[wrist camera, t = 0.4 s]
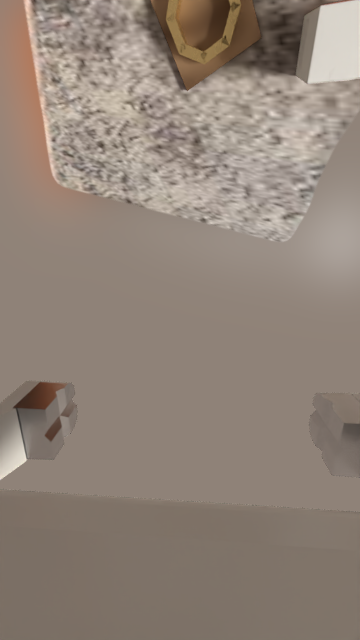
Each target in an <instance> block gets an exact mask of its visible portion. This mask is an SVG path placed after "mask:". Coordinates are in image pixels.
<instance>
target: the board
mask: <svg viewBox="0 0 360 640" xmlns="http://www.w3.org/2000/svg"><path fill="white" fill-rule="evenodd" d="M150 1H151V3H152V6H153V8H154V11H155V13H156V15H157V18H158V20H159V23H160V25H161V28H162V30H163V33H164V35H165V38H166V40H167V43H168V45H169V48H170V50H171V52H172V55H173V57H174V60H175V62H176V65H177V67H178V70H179V72H180V75H181V77H182V80H183V82H184V85H185V87H186V90H187V91H188V90H189V89H191V88H192V87H193V86H195V85H196V84H198V83H199V82H200V81H202V80H203V79H205V78H206V77H207V76H209V75H210V74H212V73H213V72H214V71H216V70H217V69H219V68H220V67H221V66H223V65H224V64H226V63H227V62H228V61H230V60H231V59H233V58H234V57H235V56H237V55H238V54H240V53H241V52H242V51H244V50H245V49H247V48H248V47H249V46H251V45H252V44H254V43H255V42H256V41H258V40H259V39H261V34H260V30H259V26H258V21H257V17H256V13H255V9H254V5H253V1H252V0H240V3H241V6H242V7H241V11H240V14H239V17H238V21H237V24H236V28H235V31H234V35H233V38H232V41H231V45H230V46H229V47H228V48H227V49H225V50H224V51H223V52H221V53H220V54H218V55H217V56H216V57H214V58H213V59H212V60H210V61H209V62H208V63H206V64H202V63H200V62H197V61H195V60H192V59H190V58H187V57H185V56H183V55H180V54H179V52H178V49H177V47H176V44H175V42H174V39H173V37H172V34H171V32H170V29H169V27H168V24H167V21H166V15H167V9H168V2H169V0H150ZM230 8H231V6H230V3H229V0H182V3H181V8H180V14H179V21H180V24H181V27H182V29H183V32H184V35H185V37H186V40H187V43H188V44H189V45H192V46H194V47H197V48H199V49H201V50H204V51H205V50H207V49H208V48H209V47H211V46H212V45H213V44H215V43H216V42H217V41H219V40H220V39H221V38H222V37H223V34H224V30H225V26H226V23H227V19H228V15H229V12H230Z"/></svg>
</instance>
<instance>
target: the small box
mask: <svg viewBox="0 0 360 640" xmlns="http://www.w3.org/2000/svg"><path fill="white" fill-rule="evenodd" d="M296 76H297V77H298V78H300V79H301V80H303V81H304V82H305V83H307V84H315V83H325V82H335V81H346V80H353V79H359V78H360V0H345V1H340V2H333V3H329V4H323V5H321V6H319V7H318V8H316V9H314V10H313V11H311V12H309V13H308V14H306V15H305V16H304V21H303V28H302V35H301V42H300V49H299V55H298V62H297V69H296Z"/></svg>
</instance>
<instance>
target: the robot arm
mask: <svg viewBox="0 0 360 640" xmlns="http://www.w3.org/2000/svg"><path fill="white" fill-rule="evenodd" d="M74 395H75V390H74V385H73V384H72V383H67V382H50V381H49V382H48V381H26V382H24V383H23V384H22V385H21V386H20V387H19V388H17V389H16V390H15V391H14V392H13V393H11V394H10V395H9V396H8V397H7V398H6V399H4V400H3V401H2V402H1V403H0V480H1V479H2V478H3V477H4V476H6V475H8V474H9V473H10V472H11V471H13V470H14V469H16V468H17V467H18V466H20V465H21V464H23V463H24V462H25V461H27V459H45V460H54V459H55V457H56V456H57V454H58V453H59V451H60V449H61V448H62V446H63V445H64V437H66V436H67V435H69V434H71V432H72V430H73V429H74V427H75V424H76V420H77V405H76V404H75V403H74V402H73V400H72V398H73V397H74ZM313 406H314V407H315V409H316V411H315V412H314V413H313V414H312V415H310V422H309V429H310V435H311V438H312V441H313V443H314V444H315V446H316V447H318V448H319V449H320V450H322V451H323V452H322V459H323V461H324V462H325V464H326V466H327V468H328V469H329V471H330V473H331V475H333V476H345V477H346V476H347V477H358V478H360V393H316V394H315V396H314V399H313ZM0 640H360V512H352V511H336V510H320V509H305V508H290V507H275V506H259V505H243V504H227V503H211V502H194V501H179V500H161V499H146V498H130V497H114V496H98V495H82V494H67V493H51V492H35V491H19V490H4V489H0Z"/></svg>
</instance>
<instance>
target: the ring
mask: <svg viewBox="0 0 360 640" xmlns="http://www.w3.org/2000/svg"><path fill="white" fill-rule="evenodd" d="M181 3H182V0H169V2H168V9H167V15H166V21H167V24H168V27H169V29H170V32H171V34H172V37H173V39H174V42H175V44H176V47H177V49H178V52H179V54H180V55H183V56H185V57H187V58H190V59H192V60H195V61H197V62H200V63H202V64H206V63H208V62H209V61H210V60H212V59H213V58H214V57H216V56H217V55H218V54H220V53H221V52H223V51H224V50H225V49H227V48H228V47H229V46H230V45H231V41H232V38H233V35H234V31H235V28H236V24H237V21H238V17H239V14H240V11H241V7H242V6H241V3H240V0H229V3H230V6H231V8H230V12H229V15H228V19H227V23H226V26H225V30H224V34H223V37H222V38H221V39H220V40H219V41H217V42H216V43H215V44H213V45H212V46H211V47H209V48H208V49H207V50H205V51H204V50H201V49H199V48H197V47H194V46H192V45H189V44H188V43H187V40H186V37H185V35H184V32H183V29H182V27H181V24H180V21H179V14H180V8H181Z"/></svg>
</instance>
